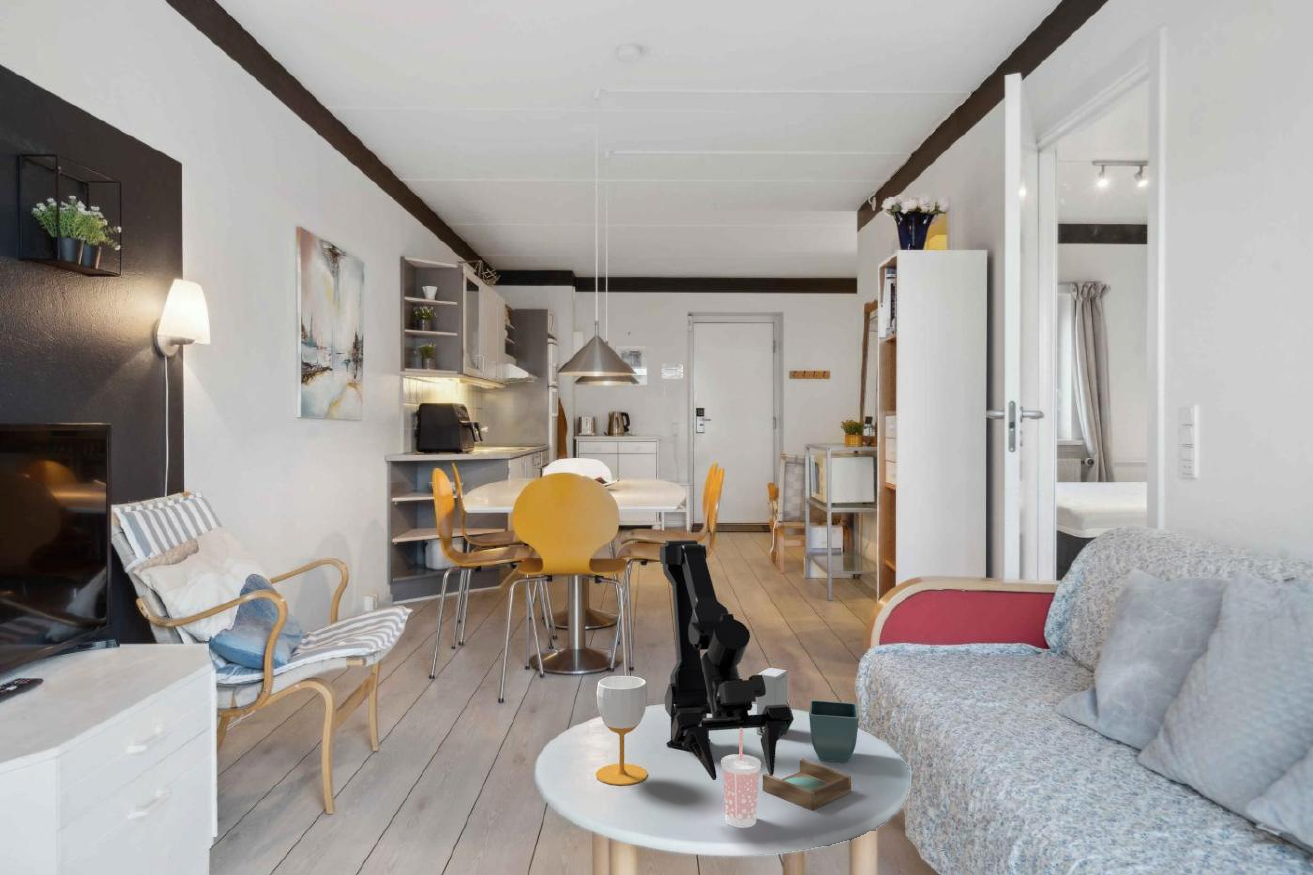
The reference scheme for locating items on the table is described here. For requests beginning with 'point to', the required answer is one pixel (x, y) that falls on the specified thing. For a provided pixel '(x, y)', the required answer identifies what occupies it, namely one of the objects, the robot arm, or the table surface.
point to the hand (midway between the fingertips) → (743, 776)
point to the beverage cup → (740, 787)
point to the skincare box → (772, 690)
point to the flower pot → (833, 729)
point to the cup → (622, 722)
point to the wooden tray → (809, 785)
